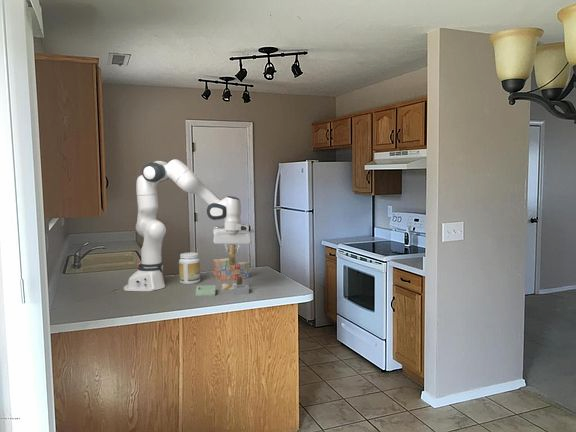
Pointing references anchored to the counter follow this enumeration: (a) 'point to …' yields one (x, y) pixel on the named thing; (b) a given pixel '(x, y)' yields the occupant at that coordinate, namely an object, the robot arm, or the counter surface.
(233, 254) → the dowel
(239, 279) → the bench dog
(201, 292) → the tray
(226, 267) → the stack of blocks
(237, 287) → the collar
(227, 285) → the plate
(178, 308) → the counter surface
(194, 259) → the supplement tub
